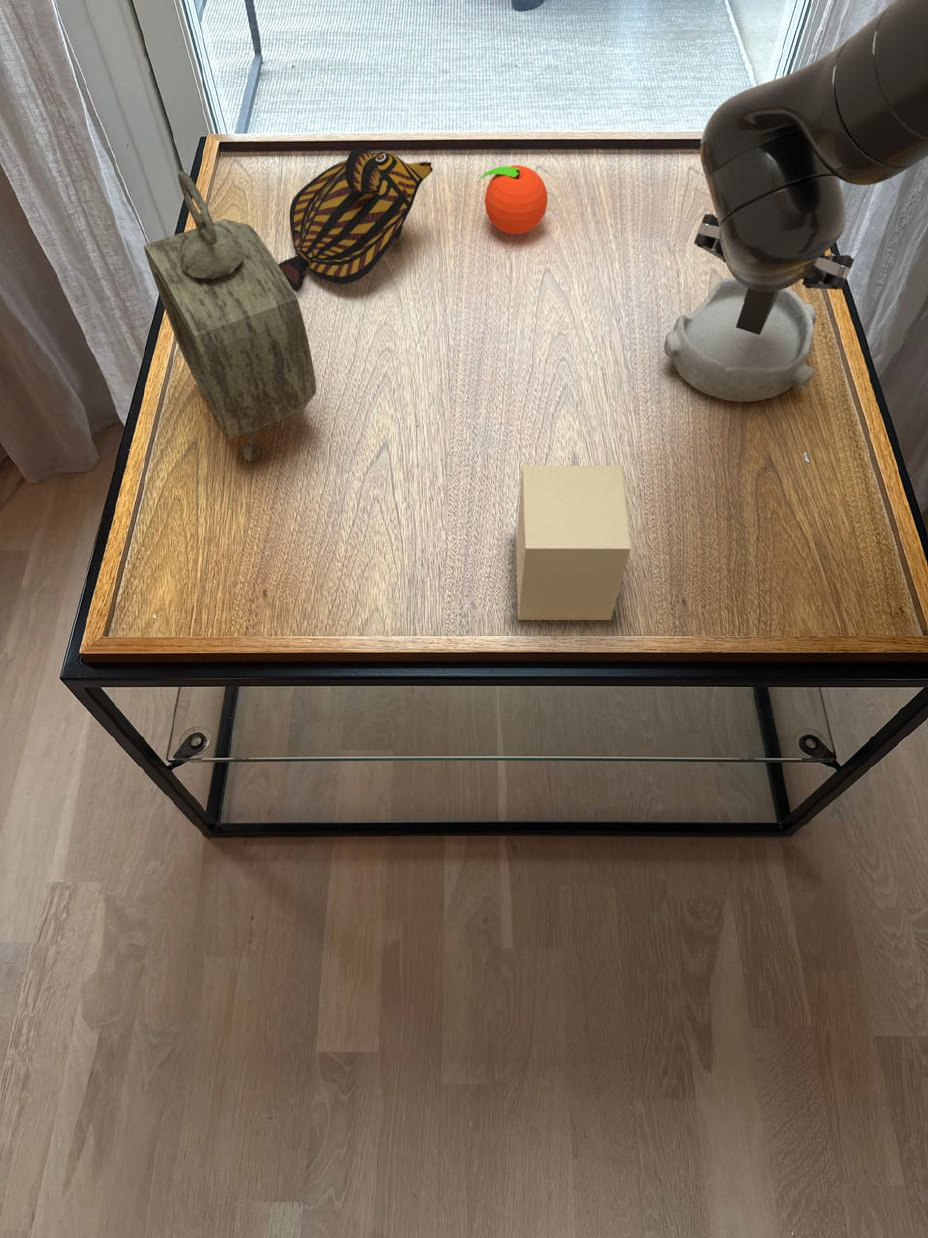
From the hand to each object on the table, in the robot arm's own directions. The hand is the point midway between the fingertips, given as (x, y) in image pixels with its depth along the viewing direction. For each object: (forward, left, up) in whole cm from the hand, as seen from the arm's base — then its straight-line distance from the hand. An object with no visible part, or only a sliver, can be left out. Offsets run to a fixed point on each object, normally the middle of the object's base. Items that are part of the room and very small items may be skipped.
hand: (772, 267), depth 86 cm
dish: (+1, +1, -10) cm, 10 cm away
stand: (+28, +20, -10) cm, 36 cm away
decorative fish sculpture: (+34, -28, -10) cm, 45 cm away
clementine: (+16, -26, -10) cm, 32 cm away
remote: (+1, +2, -4) cm, 4 cm away
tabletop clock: (+49, -8, -10) cm, 51 cm away
